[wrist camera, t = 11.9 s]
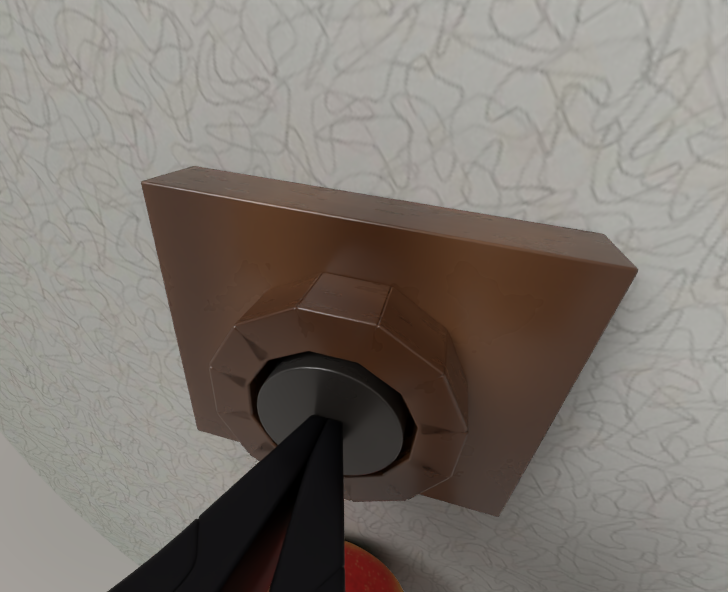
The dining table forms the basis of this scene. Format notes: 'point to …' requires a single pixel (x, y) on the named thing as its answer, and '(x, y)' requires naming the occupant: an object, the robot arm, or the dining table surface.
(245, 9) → the dining table surface
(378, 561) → the apple
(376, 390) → the button
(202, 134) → the dining table surface
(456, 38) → the dining table surface
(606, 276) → the button block
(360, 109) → the dining table surface
